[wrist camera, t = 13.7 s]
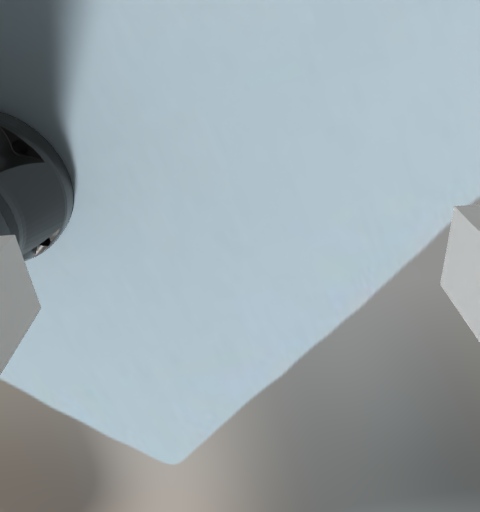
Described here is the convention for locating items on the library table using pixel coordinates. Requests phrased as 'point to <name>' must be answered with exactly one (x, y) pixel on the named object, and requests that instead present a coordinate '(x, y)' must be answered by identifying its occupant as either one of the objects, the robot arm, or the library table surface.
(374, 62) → the library table surface
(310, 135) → the library table surface
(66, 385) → the library table surface
